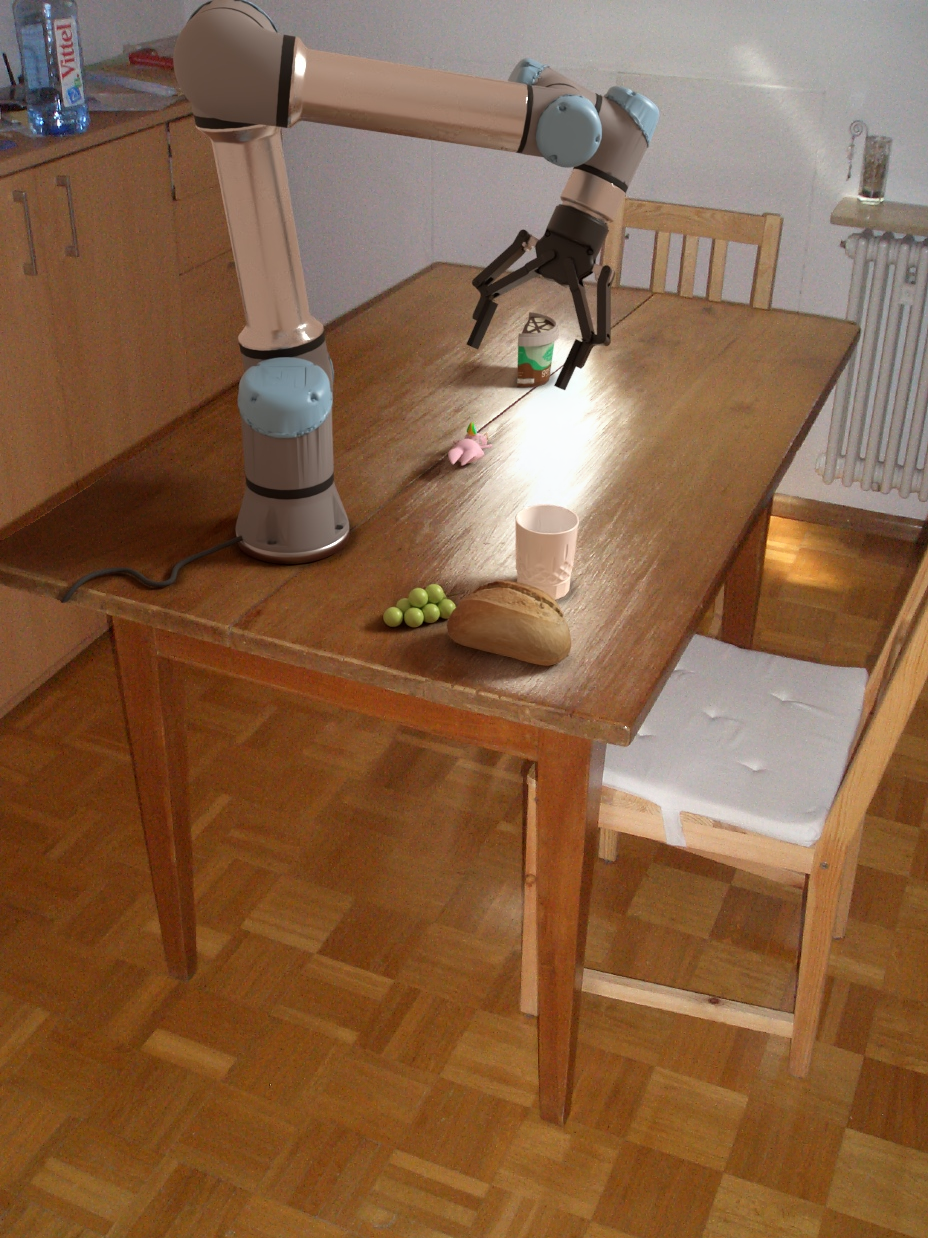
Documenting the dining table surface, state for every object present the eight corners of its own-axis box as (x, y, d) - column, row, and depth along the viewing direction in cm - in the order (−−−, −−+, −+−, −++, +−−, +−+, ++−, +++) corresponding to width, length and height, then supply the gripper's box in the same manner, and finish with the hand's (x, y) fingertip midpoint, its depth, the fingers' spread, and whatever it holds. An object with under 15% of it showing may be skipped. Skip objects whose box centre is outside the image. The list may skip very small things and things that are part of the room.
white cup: (575, 604, 159) (581, 534, 153) (512, 603, 159) (516, 533, 153) (571, 573, 165) (577, 504, 160) (511, 571, 165) (514, 503, 160)
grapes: (392, 637, 152) (392, 607, 149) (376, 618, 155) (375, 588, 153) (473, 615, 156) (474, 586, 154) (455, 597, 160) (456, 568, 157)
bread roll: (460, 617, 156) (461, 561, 151) (579, 638, 152) (584, 581, 148) (436, 659, 148) (437, 601, 144) (561, 682, 144) (565, 623, 140)
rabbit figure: (459, 447, 201) (436, 472, 187) (461, 410, 198) (437, 433, 185) (497, 452, 200) (477, 478, 186) (500, 415, 197) (479, 438, 184)
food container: (550, 393, 217) (554, 337, 212) (515, 390, 218) (518, 334, 212) (560, 368, 227) (564, 313, 222) (526, 364, 228) (529, 310, 223)
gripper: (676, 256, 162) (604, 408, 167) (512, 187, 170) (447, 334, 174) (664, 242, 155) (589, 402, 160) (492, 171, 163) (426, 325, 167)
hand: (515, 367), depth 167 cm, fingers open, 13 cm apart
